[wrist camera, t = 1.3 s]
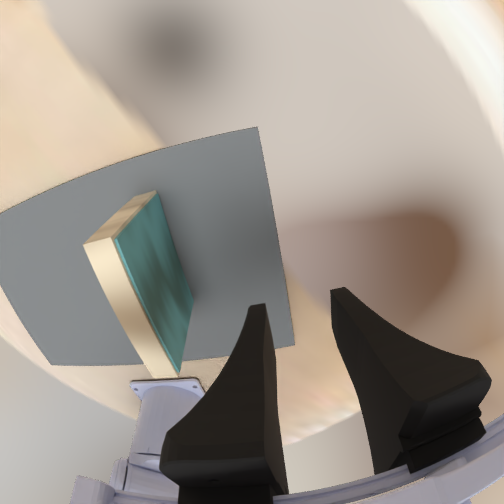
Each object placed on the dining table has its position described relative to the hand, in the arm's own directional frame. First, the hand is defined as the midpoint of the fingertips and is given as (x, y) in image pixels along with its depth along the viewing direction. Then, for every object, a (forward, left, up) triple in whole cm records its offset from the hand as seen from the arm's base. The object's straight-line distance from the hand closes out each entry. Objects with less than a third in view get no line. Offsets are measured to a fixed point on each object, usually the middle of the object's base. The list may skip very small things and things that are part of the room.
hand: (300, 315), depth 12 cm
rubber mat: (-2, +14, -9) cm, 17 cm away
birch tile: (0, +8, -9) cm, 12 cm away
